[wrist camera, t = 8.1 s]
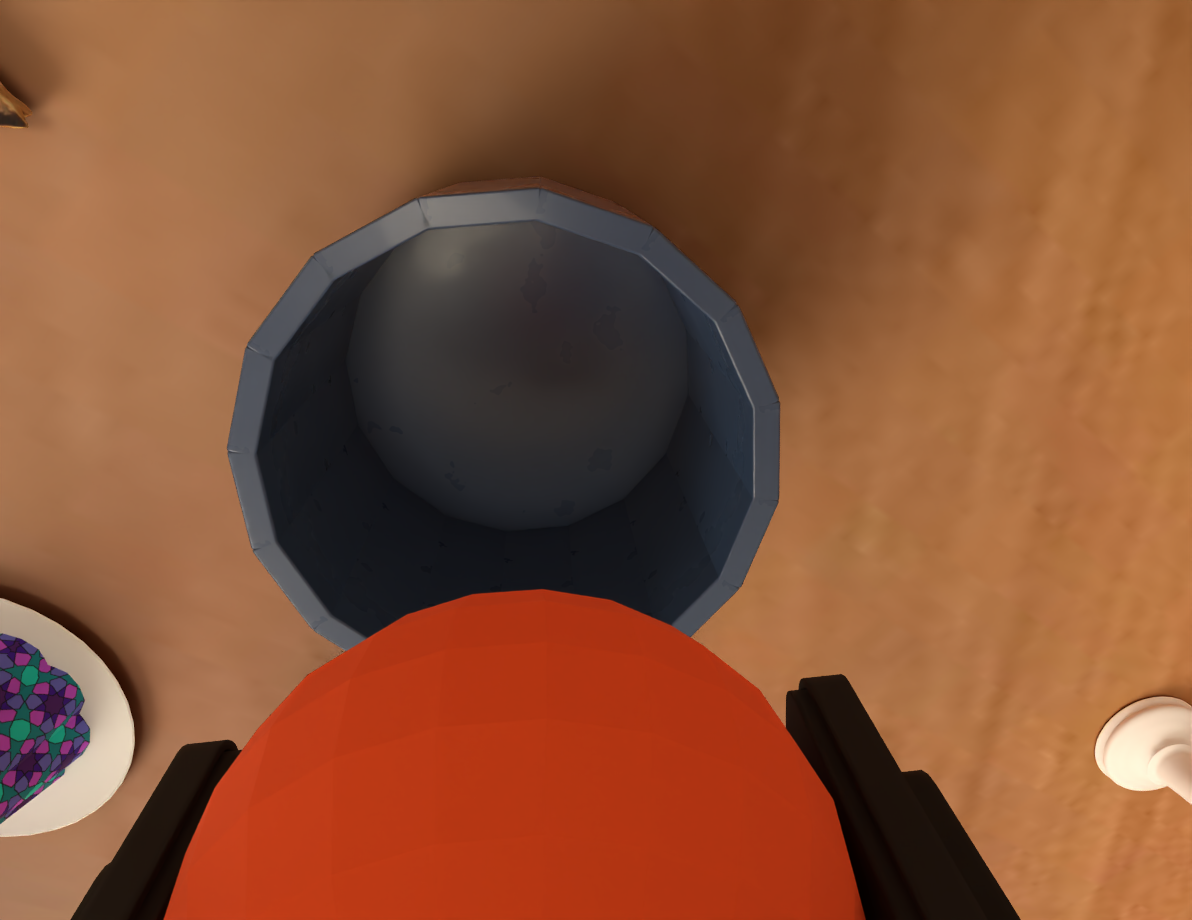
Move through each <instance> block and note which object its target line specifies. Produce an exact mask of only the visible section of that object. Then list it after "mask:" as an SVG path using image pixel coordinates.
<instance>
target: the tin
mask: <svg viewBox="0 0 1192 920" xmlns="http://www.w3.org/2000/svg"><path fill="white" fill-rule="evenodd" d="M227 450H228V458H229V461H230V465H231V469H232V473H233V477H234V481H235V485H236V489H237V493H238V497H239V501H240V505H241V508H242V512H243V516H244V520H245V524H246V528H247V532H248V536H249V540H250V544H251V547H252V549H253V552H254V554H255V555H256V556H257V558H258V559H259V560H260V562H261V563H262V564H263V566H264V567H265V568H266V570H267V571H268V572H269V574H270V575H271V576H272V577H273V579H274V580H275V581H276V583H277V584H278V585H279V587H280V588H281V589H282V591H283V592H284V593H285V595H286V596H287V597H288V599H289V600H290V601H291V602H292V604H293V605H294V606H295V608H296V609H297V610H298V612H299V613H300V614H301V616H302V617H303V618H304V620H305V621H306V622H307V624H308V625H309V626H310V627H311V628H312V629H314V631H315V632H316V633H318V634H320V635H321V636H323V637H324V638H326V639H328V640H329V641H331V642H332V643H334V644H336V645H337V646H339V647H340V648H342V649H344V650H345V651H348V650H349V649H351V648H352V647H354V646H356V645H357V644H359V643H361V642H362V641H364V640H366V639H367V638H369V637H370V636H372V635H374V634H375V633H377V632H379V631H380V630H382V629H384V628H385V627H387V626H389V625H390V624H392V623H394V622H395V621H397V620H399V619H400V618H402V617H404V616H405V615H407V614H410V613H414V612H417V611H420V610H423V609H426V608H430V607H433V606H436V605H439V604H442V603H446V602H449V601H452V600H455V599H458V598H462V597H465V596H468V595H471V594H481V593H495V592H509V591H523V590H537V589H546V590H552V591H558V592H564V593H571V594H577V595H583V596H589V597H596V598H602V599H608V600H612V601H615V602H617V603H619V604H622V605H624V606H626V607H629V608H631V609H634V610H636V611H638V612H641V613H643V614H645V615H648V616H650V617H652V618H655V619H657V620H660V621H662V622H664V623H667V624H669V625H671V626H673V627H674V628H676V629H678V630H679V631H681V632H682V633H684V634H686V635H687V636H689V637H691V636H692V635H693V634H694V633H695V632H696V631H697V630H698V629H699V628H700V627H701V626H702V625H703V624H704V623H705V622H706V621H707V620H708V619H709V618H710V617H711V616H712V615H713V614H714V613H715V612H716V611H717V610H718V609H719V608H720V607H721V606H722V605H723V604H724V603H725V602H727V601H728V600H729V599H730V598H731V597H732V596H733V595H734V594H735V593H736V592H737V591H738V589H739V587H741V586H742V584H743V582H744V579H745V577H746V575H747V573H748V570H749V568H750V566H751V563H752V561H753V559H754V557H755V554H756V552H757V550H758V548H759V545H760V543H761V541H762V539H763V536H764V534H765V532H766V529H767V527H768V525H769V523H770V520H771V518H772V516H773V514H774V511H775V509H776V507H777V504H778V500H779V470H780V402H779V397H778V394H777V392H776V390H775V387H774V385H773V383H772V381H771V378H770V376H769V374H768V371H767V369H766V367H765V364H764V362H763V360H762V357H761V355H760V353H759V351H758V348H757V346H756V344H755V341H754V339H753V337H752V334H751V332H750V330H749V327H748V325H747V323H746V320H745V318H744V316H743V314H742V311H741V309H740V307H739V306H738V305H737V303H736V301H735V300H734V299H733V298H732V297H731V296H730V295H728V294H727V293H726V292H725V291H724V290H723V289H722V288H721V287H720V286H719V285H718V284H716V283H715V282H714V281H713V280H712V279H711V278H710V277H709V276H708V275H707V274H706V273H704V272H703V271H702V270H701V269H700V268H699V267H698V266H697V265H696V264H695V263H694V262H693V261H691V260H690V259H689V258H688V257H687V256H686V255H685V254H684V253H683V252H682V251H681V250H679V249H678V248H677V247H676V246H675V245H674V244H673V243H672V242H671V241H670V240H669V239H667V238H666V237H665V236H664V235H663V234H662V233H661V232H660V231H659V230H658V229H656V228H655V227H653V226H652V225H650V224H649V223H647V222H645V221H644V220H642V219H641V218H639V217H638V216H636V215H634V214H633V213H631V212H630V211H628V210H627V209H625V208H623V207H622V206H620V205H619V204H617V203H616V202H613V201H610V200H607V199H604V198H602V197H599V196H596V195H593V194H590V193H587V192H584V191H582V190H579V189H576V188H573V187H570V186H567V185H564V184H561V183H558V182H555V181H553V180H550V179H547V178H544V177H539V176H535V177H522V178H510V179H496V180H484V181H472V182H460V183H456V184H454V185H451V186H448V187H445V188H442V189H439V190H437V191H434V192H431V193H428V194H425V195H422V196H420V197H417V198H414V199H413V200H411V201H409V202H407V203H405V204H403V205H402V206H400V207H398V208H396V209H394V210H392V211H391V212H389V213H387V214H385V215H383V216H382V217H380V218H378V219H376V220H374V221H372V222H371V223H369V224H367V225H365V226H363V227H361V228H360V229H358V230H356V231H354V232H352V233H350V234H349V235H347V236H345V237H343V238H341V239H339V240H338V241H336V242H334V243H332V244H330V245H328V246H327V247H325V248H323V249H321V250H319V251H317V252H316V253H314V255H313V256H311V257H310V259H309V260H308V261H307V263H306V264H305V265H304V267H303V268H302V269H301V271H300V272H299V274H298V275H297V276H296V278H295V279H294V280H293V282H292V283H291V284H290V286H289V287H288V289H287V290H286V291H285V293H284V294H283V295H282V297H281V298H280V300H279V301H278V302H277V304H276V305H275V306H274V308H273V309H272V310H271V312H270V313H269V315H268V316H267V317H266V319H265V320H264V321H263V323H262V324H261V325H260V327H259V328H258V330H257V331H256V332H255V334H254V335H253V336H252V338H251V339H250V341H249V342H248V344H247V347H246V348H245V353H244V358H243V364H242V369H241V375H240V380H239V385H238V391H237V396H236V402H235V407H234V412H233V418H232V423H231V428H230V434H229V439H228V445H227Z"/></svg>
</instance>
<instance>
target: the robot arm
mask: <svg viewBox="0 0 1192 920" xmlns="http://www.w3.org/2000/svg"><path fill="white" fill-rule="evenodd" d="M786 729H787V730H788V732H789V733H790V735H791V736H792V738H793V739H794V741H795V742H796V744H797V745H798V747H799V748H800V750H801V751H802V753H803V754H804V756H805V757H806V759H807V760H808V762H809V763H810V765H811V766H812V768H813V769H814V771H815V772H816V774H817V775H818V777H819V778H820V780H821V781H822V783H823V785H824V786H825V788H826V789H827V791H828V792H829V794H830V795H831V797H832V798H833V800H834V803H835V807H836V811H837V814H838V818H839V822H840V825H841V829H842V833H843V836H844V840H845V844H846V847H847V851H848V855H849V858H850V862H851V866H852V869H853V873H854V877H855V881H856V884H857V888H858V892H859V896H860V899H861V903H862V907H863V911H864V915H865V918H866V920H1021V919H1020V918H1019V916H1018V915H1017V913H1016V911H1015V910H1014V908H1013V907H1012V905H1011V903H1010V902H1009V900H1008V899H1007V897H1006V895H1005V894H1004V892H1003V891H1002V889H1001V887H1000V886H999V884H998V883H997V881H996V879H995V878H994V876H993V875H992V873H991V871H990V870H989V868H988V867H987V865H986V863H985V862H984V860H983V859H982V857H981V855H980V854H979V852H978V851H977V849H976V848H975V846H974V844H973V843H972V841H971V840H970V838H969V836H968V835H967V833H966V832H965V830H964V828H963V827H962V825H961V824H960V822H959V820H958V819H957V817H956V816H955V814H954V812H953V811H952V809H951V808H950V806H949V804H948V803H947V801H946V800H945V798H944V796H943V795H942V793H941V792H940V790H939V788H938V787H937V785H936V784H935V782H934V781H933V780H932V779H931V777H930V776H929V775H928V774H927V773H925V772H924V771H922V770H917V771H908V772H901V770H900V768H899V767H898V765H897V763H896V762H895V760H894V758H893V756H892V755H891V753H890V751H889V750H888V748H887V746H886V744H885V743H884V741H883V739H882V738H881V736H880V734H879V732H878V731H877V729H876V727H875V726H874V724H873V722H872V720H871V719H870V717H869V715H868V714H867V712H866V710H865V708H864V707H863V705H862V703H861V702H860V700H859V698H858V696H857V695H856V693H855V691H854V690H853V688H852V686H851V684H850V683H849V681H848V680H847V678H846V677H845V676H844V675H842V674H839V675H830V676H821V677H811V678H803V679H801V680H800V683H799V690H794V691H788V692H787V695H786ZM241 751H242V750H238V749H237V746H236V744H235V743H234V742H233V741H231V740H222V741H213V742H204V743H194V744H187V745H185V746H183V747H182V748H181V749H180V750H179V751H178V753H177V754H176V756H175V758H174V759H173V761H172V763H171V764H170V766H169V767H168V769H167V771H166V772H165V774H164V776H163V777H162V779H161V781H160V782H159V784H158V786H157V787H156V789H155V791H154V792H153V794H152V796H151V797H150V799H149V801H148V802H147V804H146V806H145V807H144V809H143V811H142V812H141V814H140V816H139V817H138V819H137V820H136V822H135V824H134V825H133V827H132V829H131V830H130V832H129V834H128V835H127V837H126V839H125V840H124V842H123V844H122V845H121V847H120V849H119V850H118V852H117V854H116V855H115V857H114V859H113V860H112V862H111V863H109V864H108V865H106V866H105V867H104V868H103V870H102V871H101V872H100V874H99V875H98V876H97V877H96V879H95V881H94V882H93V884H92V886H91V887H90V889H89V890H88V892H87V894H86V895H85V897H84V899H83V900H82V902H81V903H80V905H79V907H78V908H77V910H76V912H75V913H74V915H73V917H72V918H71V920H164V917H165V913H166V910H167V907H168V904H169V901H170V898H171V895H172V892H173V889H174V886H175V883H176V880H177V877H178V874H179V871H180V868H181V865H182V862H183V859H184V856H185V853H186V851H187V849H188V846H189V844H190V842H191V840H192V837H193V835H194V833H195V831H196V829H197V826H198V824H199V822H200V820H201V817H202V815H203V813H204V811H205V809H206V806H207V804H208V802H209V800H210V797H211V795H212V793H213V791H214V788H215V787H216V785H217V784H218V783H219V781H220V780H221V778H222V777H223V776H224V774H225V773H226V772H227V770H228V769H229V768H230V766H231V765H232V763H233V762H234V761H235V759H236V758H237V757H238V755H239V754H240V753H241Z"/></svg>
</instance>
